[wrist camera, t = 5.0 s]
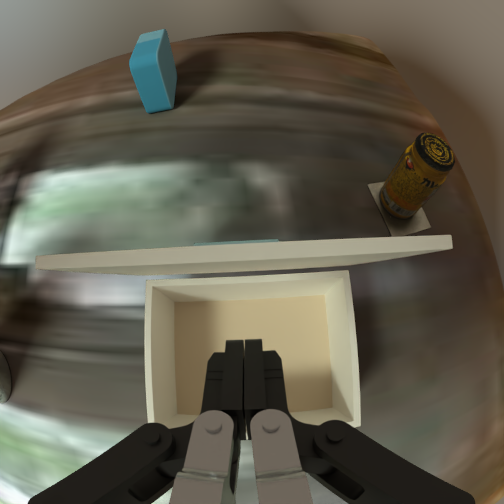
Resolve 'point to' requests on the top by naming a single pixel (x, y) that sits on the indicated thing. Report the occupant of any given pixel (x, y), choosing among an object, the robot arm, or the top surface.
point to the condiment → (413, 184)
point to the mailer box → (253, 327)
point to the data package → (154, 71)
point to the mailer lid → (245, 256)
